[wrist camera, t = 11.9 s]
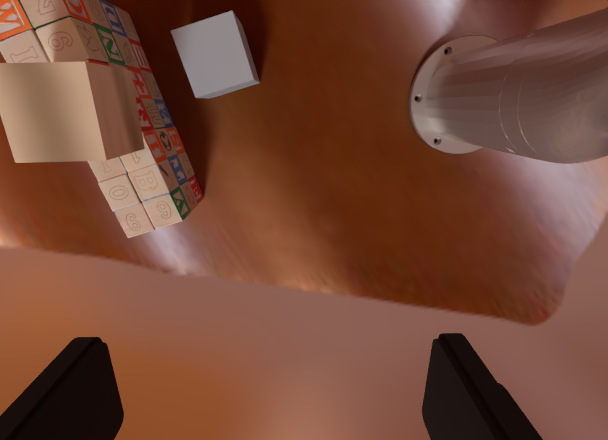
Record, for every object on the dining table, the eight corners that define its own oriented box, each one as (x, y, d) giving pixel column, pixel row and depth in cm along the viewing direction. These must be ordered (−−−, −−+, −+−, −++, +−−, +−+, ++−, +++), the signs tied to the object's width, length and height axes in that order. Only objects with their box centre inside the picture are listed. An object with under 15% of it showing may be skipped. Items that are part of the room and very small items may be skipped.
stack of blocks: (206, 197, 42) (172, 233, 30) (160, 211, 42) (110, 252, 31) (128, 11, 35) (46, -35, 23) (74, 30, 36) (-33, -6, 24)
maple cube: (130, 70, 26) (84, 61, 20) (144, 148, 28) (106, 160, 22) (52, 72, 26) (-16, 63, 20) (72, 150, 28) (15, 162, 22)
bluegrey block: (242, 24, 36) (232, 10, 30) (260, 82, 38) (253, 79, 32) (189, 42, 36) (170, 30, 30) (210, 98, 38) (195, 97, 32)
